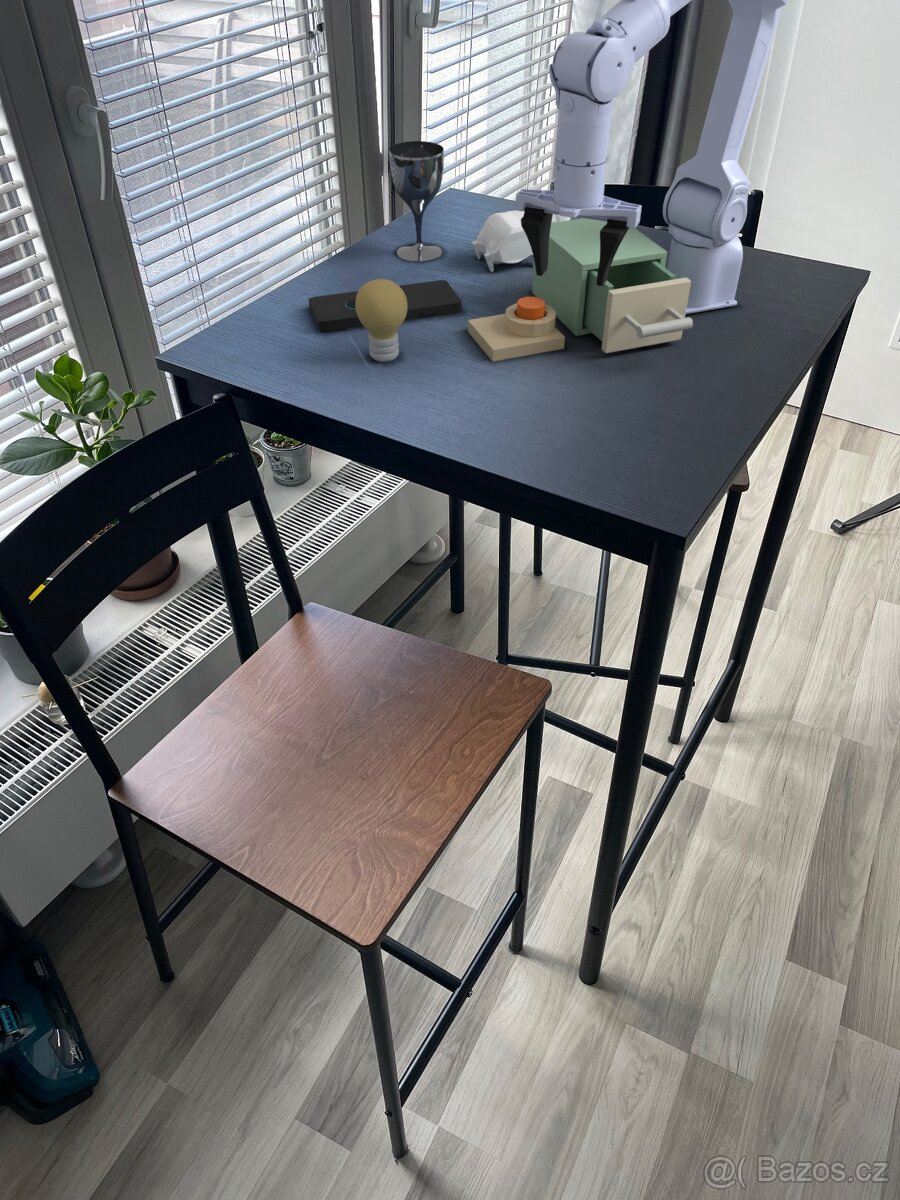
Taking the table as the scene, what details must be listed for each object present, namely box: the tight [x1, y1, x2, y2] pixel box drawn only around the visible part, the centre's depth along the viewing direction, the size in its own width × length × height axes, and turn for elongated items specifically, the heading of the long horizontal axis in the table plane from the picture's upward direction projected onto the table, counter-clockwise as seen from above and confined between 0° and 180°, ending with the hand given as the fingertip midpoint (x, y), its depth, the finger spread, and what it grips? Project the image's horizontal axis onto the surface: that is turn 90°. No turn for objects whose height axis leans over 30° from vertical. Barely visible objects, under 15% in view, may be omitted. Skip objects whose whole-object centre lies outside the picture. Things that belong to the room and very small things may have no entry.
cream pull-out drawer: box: [582, 260, 694, 354], centre depth 118 cm, size 18×11×8 cm, turn 20°
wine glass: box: [388, 140, 445, 263], centre depth 138 cm, size 8×8×15 cm
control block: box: [467, 303, 566, 362], centre depth 120 cm, size 10×9×4 cm
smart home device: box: [308, 279, 462, 333], centre depth 127 cm, size 8×2×20 cm
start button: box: [516, 296, 545, 320], centre depth 118 cm, size 4×4×2 cm
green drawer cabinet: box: [531, 218, 668, 337], centre depth 125 cm, size 15×12×10 cm
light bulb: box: [355, 278, 408, 363], centre depth 114 cm, size 6×6×10 cm
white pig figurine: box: [471, 209, 572, 273], centre depth 138 cm, size 9×8×15 cm
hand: (571, 277), depth 112 cm, fingers open, 7 cm apart
